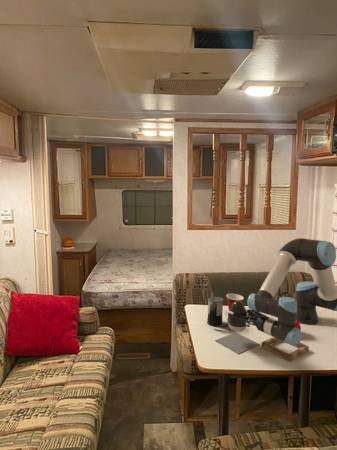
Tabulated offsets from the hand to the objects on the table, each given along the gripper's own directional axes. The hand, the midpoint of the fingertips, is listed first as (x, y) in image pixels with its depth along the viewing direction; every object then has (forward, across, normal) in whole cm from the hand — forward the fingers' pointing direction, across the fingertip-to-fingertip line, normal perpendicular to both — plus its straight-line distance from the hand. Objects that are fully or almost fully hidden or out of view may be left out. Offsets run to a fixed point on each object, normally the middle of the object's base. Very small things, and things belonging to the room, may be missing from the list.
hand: (231, 309), depth 165 cm
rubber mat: (-4, 0, -16) cm, 17 cm away
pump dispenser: (-5, 0, -9) cm, 10 cm away
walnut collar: (-22, +15, -16) cm, 32 cm away
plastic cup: (+22, +27, -16) cm, 38 cm away
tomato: (-14, +32, -16) cm, 39 cm away
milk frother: (+15, +9, -17) cm, 24 cm away
